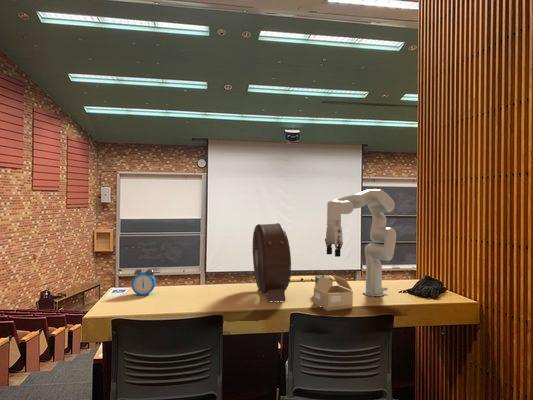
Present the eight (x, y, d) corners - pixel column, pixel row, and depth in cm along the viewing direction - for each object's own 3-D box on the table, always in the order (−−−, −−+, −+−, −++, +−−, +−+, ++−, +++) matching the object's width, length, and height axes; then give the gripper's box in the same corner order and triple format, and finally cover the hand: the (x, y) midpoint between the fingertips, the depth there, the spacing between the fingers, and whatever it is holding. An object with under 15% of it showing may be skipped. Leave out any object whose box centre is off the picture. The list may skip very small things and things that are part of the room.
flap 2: (338, 284, 201) (338, 284, 201) (351, 290, 190) (352, 289, 190) (332, 275, 200) (332, 275, 200) (345, 280, 188) (346, 279, 188)
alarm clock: (130, 296, 204) (131, 270, 204) (133, 293, 210) (133, 268, 210) (154, 295, 206) (154, 270, 206) (155, 292, 212) (156, 268, 212)
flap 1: (321, 276, 197) (320, 276, 197) (333, 281, 185) (333, 280, 185) (314, 287, 195) (314, 286, 195) (327, 292, 184) (326, 292, 183)
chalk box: (332, 298, 208) (333, 273, 208) (317, 298, 207) (317, 273, 208) (329, 294, 217) (329, 270, 217) (314, 293, 217) (315, 270, 217)
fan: (292, 304, 194) (294, 225, 194) (261, 305, 191) (262, 225, 191) (276, 286, 235) (277, 221, 235) (250, 286, 231) (251, 221, 231)
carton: (337, 300, 202) (337, 285, 202) (353, 308, 189) (353, 291, 189) (313, 303, 196) (313, 287, 196) (327, 311, 182) (327, 294, 182)
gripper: (349, 224, 186) (348, 257, 186) (330, 222, 202) (330, 252, 202) (337, 224, 183) (336, 258, 183) (319, 222, 199) (319, 253, 199)
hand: (333, 255), depth 193 cm, fingers open, 7 cm apart
